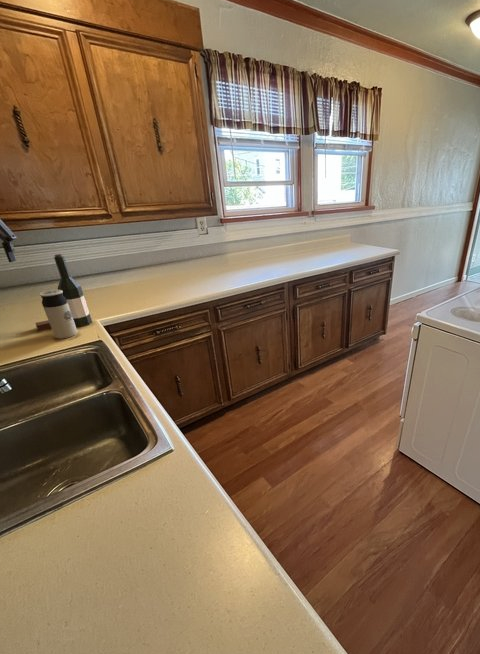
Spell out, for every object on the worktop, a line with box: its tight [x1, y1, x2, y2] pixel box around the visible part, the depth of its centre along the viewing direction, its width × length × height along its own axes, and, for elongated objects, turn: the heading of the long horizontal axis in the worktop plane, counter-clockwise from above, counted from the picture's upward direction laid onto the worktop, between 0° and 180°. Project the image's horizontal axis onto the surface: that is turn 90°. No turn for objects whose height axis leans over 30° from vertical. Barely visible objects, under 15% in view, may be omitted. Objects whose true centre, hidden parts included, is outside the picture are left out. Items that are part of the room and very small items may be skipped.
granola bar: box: [35, 319, 52, 332], centre depth 142 cm, size 12×4×2 cm, turn 130°
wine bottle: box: [53, 253, 93, 328], centre depth 137 cm, size 8×8×30 cm
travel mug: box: [39, 289, 79, 339], centre depth 129 cm, size 8×8×18 cm
